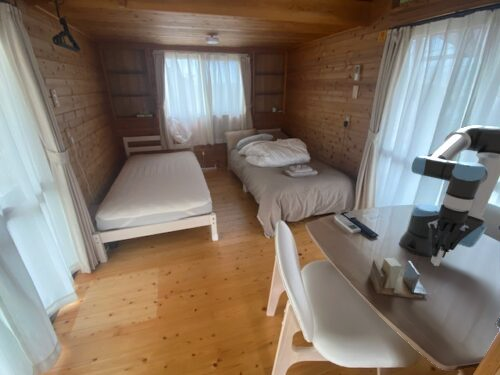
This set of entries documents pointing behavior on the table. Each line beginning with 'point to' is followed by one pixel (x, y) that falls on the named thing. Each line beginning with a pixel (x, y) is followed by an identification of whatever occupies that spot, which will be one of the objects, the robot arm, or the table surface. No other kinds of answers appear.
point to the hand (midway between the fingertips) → (434, 263)
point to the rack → (399, 288)
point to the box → (390, 272)
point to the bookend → (413, 279)
